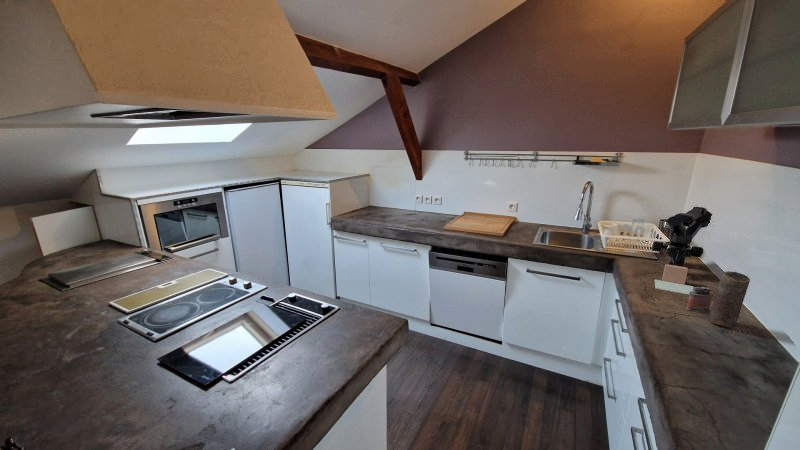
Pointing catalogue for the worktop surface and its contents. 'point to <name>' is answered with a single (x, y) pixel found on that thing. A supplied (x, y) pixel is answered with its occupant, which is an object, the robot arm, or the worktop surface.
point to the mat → (673, 287)
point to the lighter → (699, 299)
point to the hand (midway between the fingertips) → (675, 264)
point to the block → (675, 274)
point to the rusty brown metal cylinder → (729, 299)
